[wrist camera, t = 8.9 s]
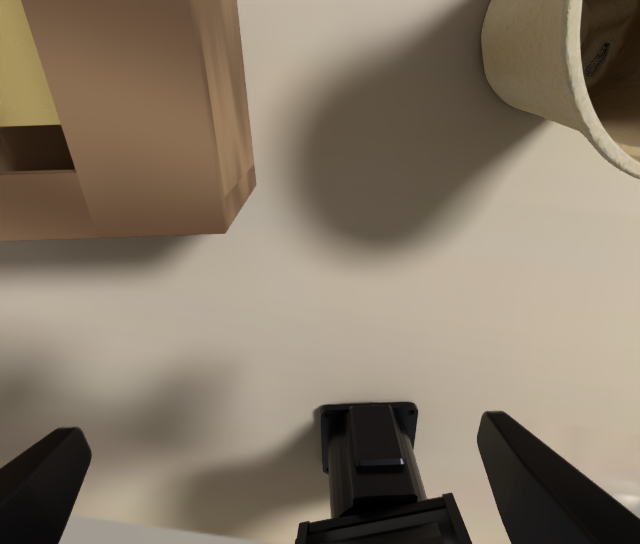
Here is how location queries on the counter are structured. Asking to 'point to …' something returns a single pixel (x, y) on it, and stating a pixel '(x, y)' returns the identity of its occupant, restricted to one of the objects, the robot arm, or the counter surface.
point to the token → (22, 73)
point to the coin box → (131, 123)
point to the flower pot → (571, 68)
